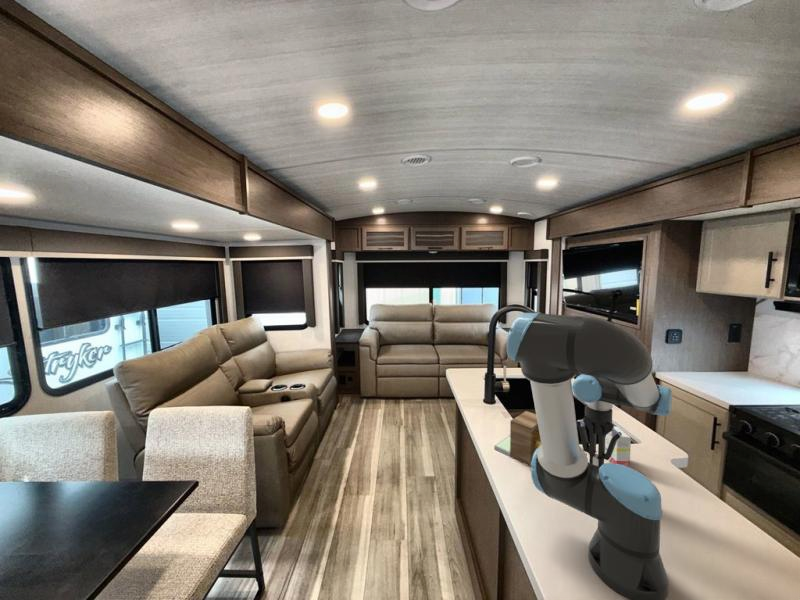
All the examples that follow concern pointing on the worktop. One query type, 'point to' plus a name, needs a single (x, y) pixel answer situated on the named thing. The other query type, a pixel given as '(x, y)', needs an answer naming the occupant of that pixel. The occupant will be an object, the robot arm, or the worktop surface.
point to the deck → (504, 446)
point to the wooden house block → (523, 437)
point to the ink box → (619, 448)
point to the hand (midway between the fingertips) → (596, 474)
